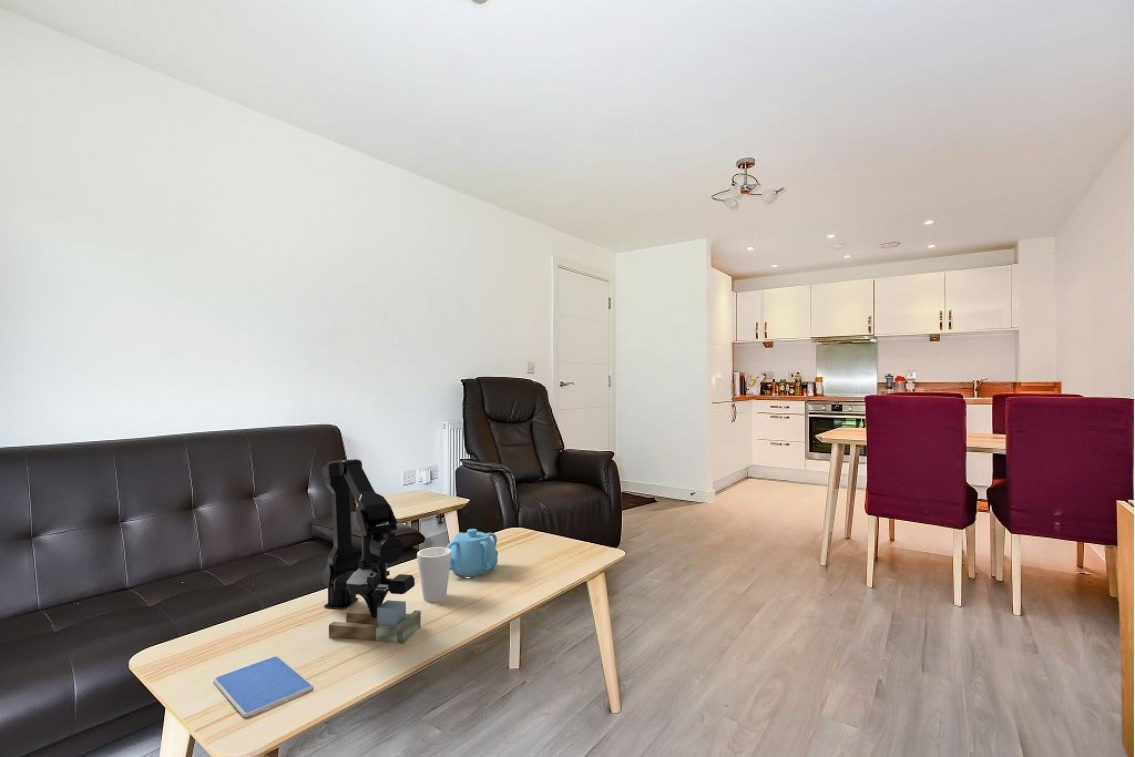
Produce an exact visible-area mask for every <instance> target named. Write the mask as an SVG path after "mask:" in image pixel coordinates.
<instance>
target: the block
mask: <svg viewBox="0 0 1135 757" xmlns="http://www.w3.org/2000/svg"><path fill="white" fill-rule="evenodd" d="M406 605H407V602H406V601H405V600H391V599H387V600H384V601H383V603H382V604H381V605H380V606H379V607H378V608H377V610H378V625H383V626H396V627H397V626H398V625H399V624H400V623H401V622H402V621H403V620H404V619H405V618H406V614H407V606H406Z"/></svg>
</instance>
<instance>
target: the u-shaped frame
mask: <svg viewBox="0 0 1135 757" xmlns="http://www.w3.org/2000/svg"><path fill="white" fill-rule="evenodd" d="M421 612H422V611H421V610H418V609H417V610H415V609H414V610H413V611H412V612H411V613H406V618H405V619H404V620H403V621H402V622H401V623H400V624H399V625H398V626H397V627H396V626H383V625H378V615H377V617H376V618H372V616H371V614H370V611H369V610H364V609H363V610H360V609H349V610H348V611H347V612H346V613H345V622H344V621H342V622H341V621H332V622H331V623H330V624H328V638H330V639H331V638H333V639H341V640H342V639H344V640H355V641H367V642H377V643H389V644H390V643H391V644H402V645H403V644H405V643H406V642H407V641H408V640H409V639H410V638H411V637H413V635H414V634H415V633H416V632H417V631H419V629H421V626H422V625H421V624H422V622H421V621H422V620H421V619H422V616H421V615H422V613H421Z"/></svg>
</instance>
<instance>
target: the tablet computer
mask: <svg viewBox="0 0 1135 757" xmlns="http://www.w3.org/2000/svg"><path fill="white" fill-rule="evenodd" d="M212 683H213V684H214V686H216V688H218V689H219V691H220V692H222V694H223V695H224V696H225V698H227V700H228V701H229V702H230V704H231V705H232V706H234V708H235V710H236V711H237V712H239V714H240V715H241V717H242V718H245V717H247V718H249V717H248V716H251V715H253V714H256V713H258V712H261V711H263V710H265V709H267V708H270V707H272V708H274V707H273V706H275V705H277V704H279V705H281V704H280V703H282V702H284V701H286V700H289V701H290V699H291V700H293V699H295V698H294V697H296V698H298V697H300V696H302V695H304V693H305V694H307V693H309V692H310V690H311V691H312V690H313V688H314V685H313V684H312V683H311V682H309V681H308V680H307V679H306V678H305V677H304V676H302V675H301V674H300V673H299V672H297V671H296V670H295V669H294V668H293V667H292V666H290V665H289V664H288V663H287V662H286V661H285V660H283V659H282V658H281V657H279V656H277V655H275V656H272V657H269V658H266V659H263V660H261V661H258V662H255V663H252V664H250V665H248V666H245V667H244V666H243V667H241V668H238V669H236V670H233V671H230V672H228V673H224V674H221V675H219V676H216V677H215V678H214V679H213V682H212ZM306 692H307V693H306ZM301 694H302V695H301ZM299 695H300V696H299ZM297 696H298V697H297ZM292 698H293V699H292ZM286 702H287V701H286ZM284 703H285V702H284ZM282 704H283V703H282ZM277 706H278V705H277ZM275 707H276V706H275ZM270 709H271V708H270ZM265 711H266V710H265ZM263 712H264V711H263ZM261 713H262V712H261ZM258 714H259V713H258ZM256 715H257V714H256ZM253 716H254V715H253ZM251 717H252V716H251Z"/></svg>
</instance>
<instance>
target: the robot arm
mask: <svg viewBox="0 0 1135 757" xmlns="http://www.w3.org/2000/svg"><path fill="white" fill-rule="evenodd" d="M321 470H322V477H323V480H324V485H325V486H326V487H327V489H328V490H329V492H330V493H331V507H332V508H331V510H332V511H331V512H332V529H333V530H332V537H333V547H332V549H331V550H330V553H329V554H328V556H327V564H326V566H325V568H324V571H323V573H322V575H321V577H322V578H321V579H322V583H323V584H324V586H326V587H327V603H326V604H324V605H323V607H324V608H330V609H342V610H345V609H347V608H348V607H350V606H351V605H353V604H354V603H356V602H357V601H358V600H359V597H357V595H359V596H361V597H362V598H363V599H364V601H365V603H366V606H367V608H368V611H370V614H371V616H372V618H376V617H377V615H378V610H377V608H378V607H379V606H380V605H381V604H383V603H384V602H385V598H386V596H387V594H388V593H391V594H393V595H404V594H406V593H408V592H409V591H410V590H411V589H412V588H413V587H415V586H416V584H415V583H416V582H415V577H414V575H413V574H405V573H404V574H403V573H399V574H398V575H396V576H395V577H393V578H388V576H390V572H391V571H390V570H388V564H393V563H396V562H397V561H399V560H400V559H401V557H402V556H403V554H404V548H405V547H404V545H403V542H402V541H401V540H400V539H399V538H396V532H395V531H396V530H398V526H397V524H398V521H397V519H396V518H397V517H396V515H395V513H394V511H393V508H392V506H391V505H390V504H389V502H388V500H387V499H386V498H385V497H384V496H383V495H382V494H379V493H377V492H376V491H375V489H374V488H373V486H372V483H371V481H370V479H369V478H368V476H367V474H366V473H365V471H364V467H363V462H362V460H361V459H358V458H354V459H343V460H341V459H340V460H335V461H334V460H333V461H327V463H326V465H324V466H322V469H321ZM351 494H352V495H353V498H354V499H355V502H356V504H357V507H356V510H355V511H356V512H355V518H356V522H357V524H358V526H359V528H360V530H359V531H360V533H361V554H360V552H359V550H357V549H356V548H355V547H354V545H353V535H352V513H351V512H352V511H351ZM360 555H361V558H360Z"/></svg>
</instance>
